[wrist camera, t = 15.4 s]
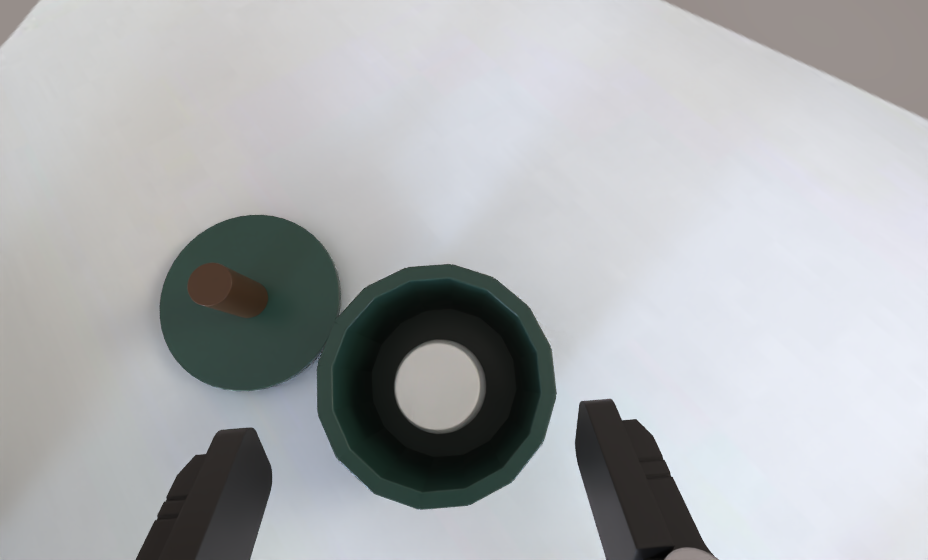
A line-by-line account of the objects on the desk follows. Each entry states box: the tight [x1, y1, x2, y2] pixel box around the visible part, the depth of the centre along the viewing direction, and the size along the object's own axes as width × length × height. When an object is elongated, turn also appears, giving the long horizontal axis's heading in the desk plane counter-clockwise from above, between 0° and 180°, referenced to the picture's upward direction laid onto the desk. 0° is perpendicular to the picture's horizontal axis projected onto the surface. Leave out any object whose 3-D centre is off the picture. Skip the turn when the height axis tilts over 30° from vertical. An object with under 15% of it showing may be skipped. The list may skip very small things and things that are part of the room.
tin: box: [317, 264, 557, 510], centre depth 26 cm, size 10×10×10 cm
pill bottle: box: [394, 339, 486, 434], centre depth 26 cm, size 5×5×8 cm
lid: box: [160, 215, 341, 391], centre depth 29 cm, size 11×11×6 cm
